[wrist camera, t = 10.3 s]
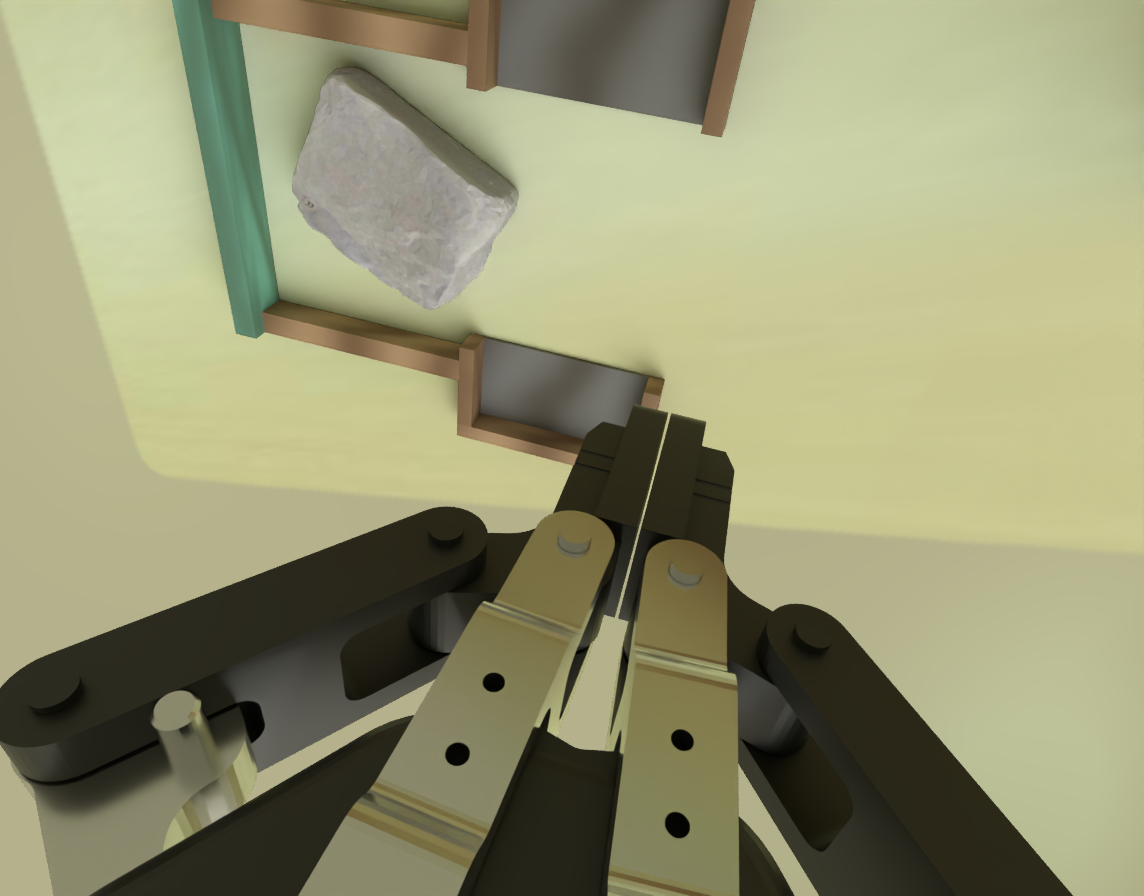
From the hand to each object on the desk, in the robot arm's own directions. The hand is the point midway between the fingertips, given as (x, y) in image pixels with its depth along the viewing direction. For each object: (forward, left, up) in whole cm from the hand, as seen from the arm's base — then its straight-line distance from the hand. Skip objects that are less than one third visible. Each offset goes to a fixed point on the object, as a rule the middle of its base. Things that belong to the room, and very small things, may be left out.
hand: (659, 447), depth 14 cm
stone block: (+18, +6, -28) cm, 34 cm away
